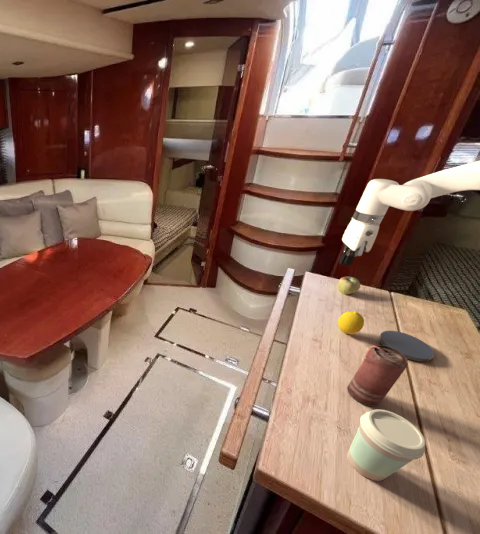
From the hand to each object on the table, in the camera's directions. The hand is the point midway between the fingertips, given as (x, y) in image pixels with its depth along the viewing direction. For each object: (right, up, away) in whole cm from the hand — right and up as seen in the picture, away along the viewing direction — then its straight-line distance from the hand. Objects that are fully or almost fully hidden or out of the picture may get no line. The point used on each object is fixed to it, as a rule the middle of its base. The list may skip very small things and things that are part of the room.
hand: (344, 263), depth 112 cm
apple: (-2, -10, -2) cm, 11 cm away
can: (-30, -32, -39) cm, 59 cm away
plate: (-6, -24, -26) cm, 36 cm away
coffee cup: (-42, -40, -52) cm, 78 cm away
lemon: (-18, -21, -20) cm, 34 cm away
